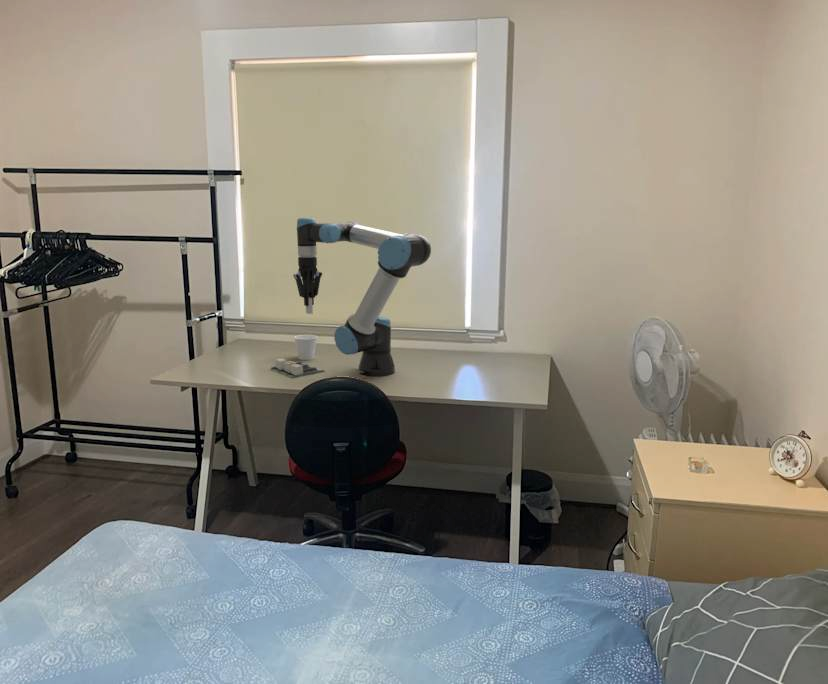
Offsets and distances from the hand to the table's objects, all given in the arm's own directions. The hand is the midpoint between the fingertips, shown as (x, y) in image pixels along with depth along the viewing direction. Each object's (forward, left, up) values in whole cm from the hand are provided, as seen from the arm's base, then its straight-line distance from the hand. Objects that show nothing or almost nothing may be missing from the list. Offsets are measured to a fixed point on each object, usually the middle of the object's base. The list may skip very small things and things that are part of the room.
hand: (309, 313), depth 287 cm
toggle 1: (+2, +13, -22) cm, 26 cm away
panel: (-4, +9, -24) cm, 25 cm away
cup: (+11, -5, -24) cm, 27 cm away
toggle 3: (-10, +13, -22) cm, 27 cm away
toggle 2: (-4, +13, -22) cm, 26 cm away
